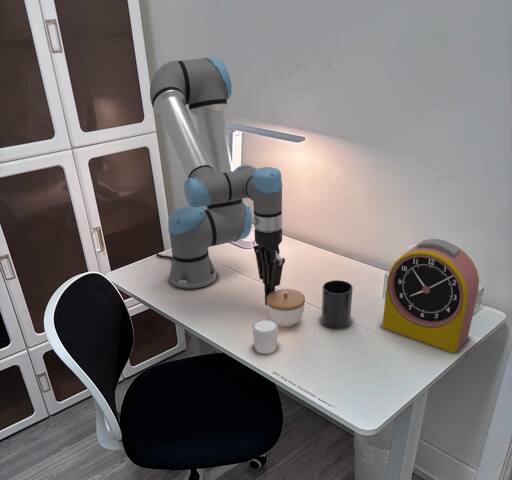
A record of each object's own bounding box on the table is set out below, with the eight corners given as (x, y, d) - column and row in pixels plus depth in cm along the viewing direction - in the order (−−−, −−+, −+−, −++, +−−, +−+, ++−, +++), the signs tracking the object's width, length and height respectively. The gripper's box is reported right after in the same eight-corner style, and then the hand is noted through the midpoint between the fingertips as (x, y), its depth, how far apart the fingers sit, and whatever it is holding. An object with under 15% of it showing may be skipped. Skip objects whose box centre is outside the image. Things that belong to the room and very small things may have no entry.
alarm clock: (381, 327, 145) (391, 238, 131) (396, 313, 151) (407, 226, 136) (454, 353, 134) (474, 258, 119) (468, 337, 140) (489, 245, 125)
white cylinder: (283, 349, 138) (283, 326, 135) (262, 358, 135) (261, 335, 131) (268, 337, 143) (268, 315, 139) (247, 346, 140) (246, 324, 136)
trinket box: (299, 333, 144) (299, 304, 139) (262, 328, 147) (261, 299, 142) (308, 314, 153) (309, 285, 147) (273, 309, 156) (272, 281, 150)
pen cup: (316, 319, 150) (317, 285, 144) (338, 311, 153) (339, 277, 147) (333, 332, 144) (335, 297, 138) (355, 323, 148) (358, 288, 142)
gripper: (244, 224, 144) (248, 298, 157) (269, 238, 135) (270, 317, 148) (267, 218, 147) (269, 292, 161) (293, 232, 138) (292, 309, 151)
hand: (270, 304), depth 154 cm, fingers closed
